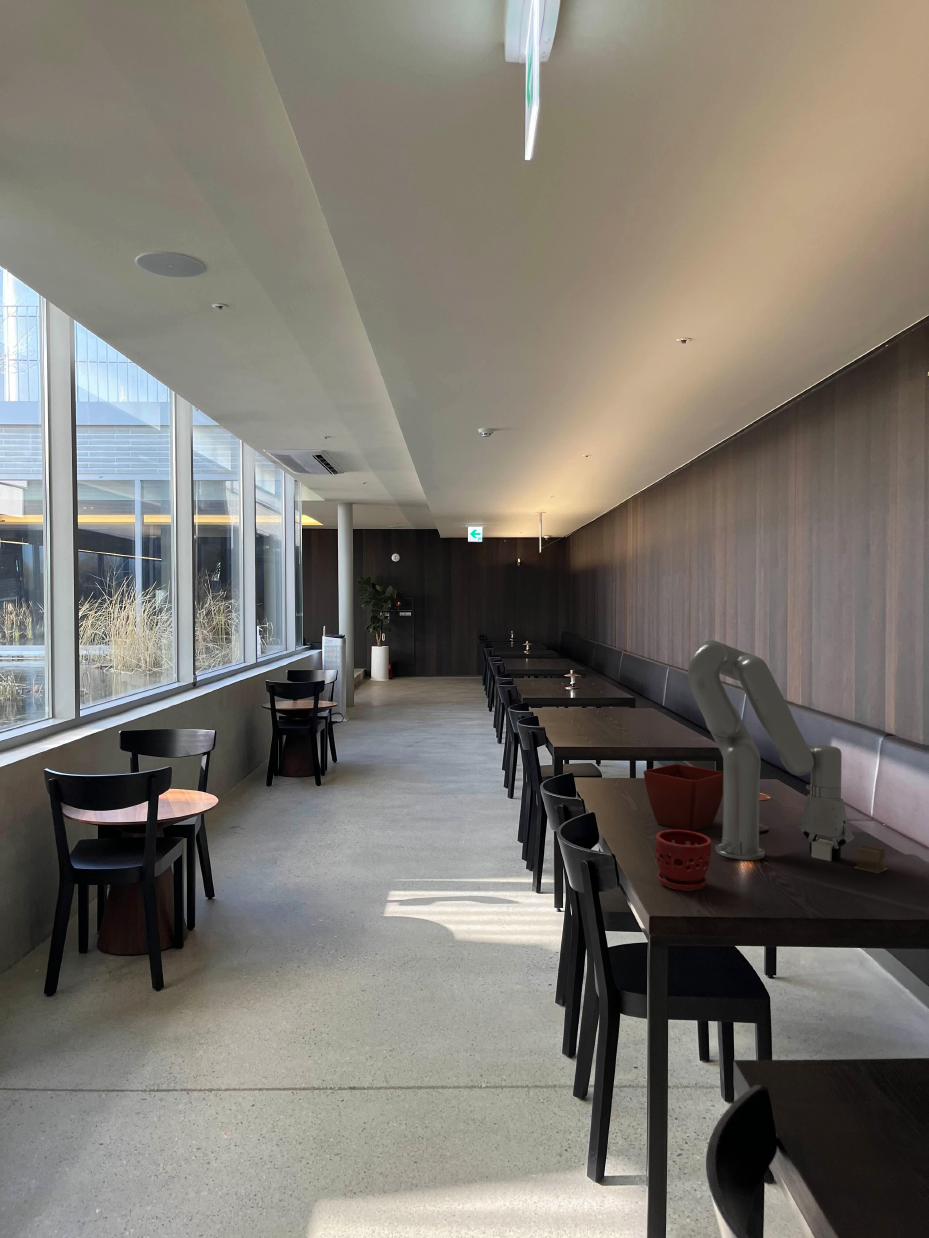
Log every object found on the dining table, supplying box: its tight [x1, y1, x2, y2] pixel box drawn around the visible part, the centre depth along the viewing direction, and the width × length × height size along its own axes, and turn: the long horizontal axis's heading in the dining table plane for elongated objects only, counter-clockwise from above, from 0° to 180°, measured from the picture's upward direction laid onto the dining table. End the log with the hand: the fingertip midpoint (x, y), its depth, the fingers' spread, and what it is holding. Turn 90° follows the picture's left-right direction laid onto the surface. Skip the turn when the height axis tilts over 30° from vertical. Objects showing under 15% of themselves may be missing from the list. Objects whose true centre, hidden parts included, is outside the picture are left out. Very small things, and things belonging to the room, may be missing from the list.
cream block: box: [810, 838, 834, 862], centre depth 217 cm, size 5×5×5 cm
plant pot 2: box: [655, 829, 712, 892], centre depth 196 cm, size 13×13×12 cm
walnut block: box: [856, 844, 886, 873], centre depth 207 cm, size 5×5×5 cm
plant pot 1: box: [643, 763, 723, 832], centre depth 253 cm, size 19×19×17 cm
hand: (824, 858), depth 217 cm, fingers closed on cream block, 5 cm apart
